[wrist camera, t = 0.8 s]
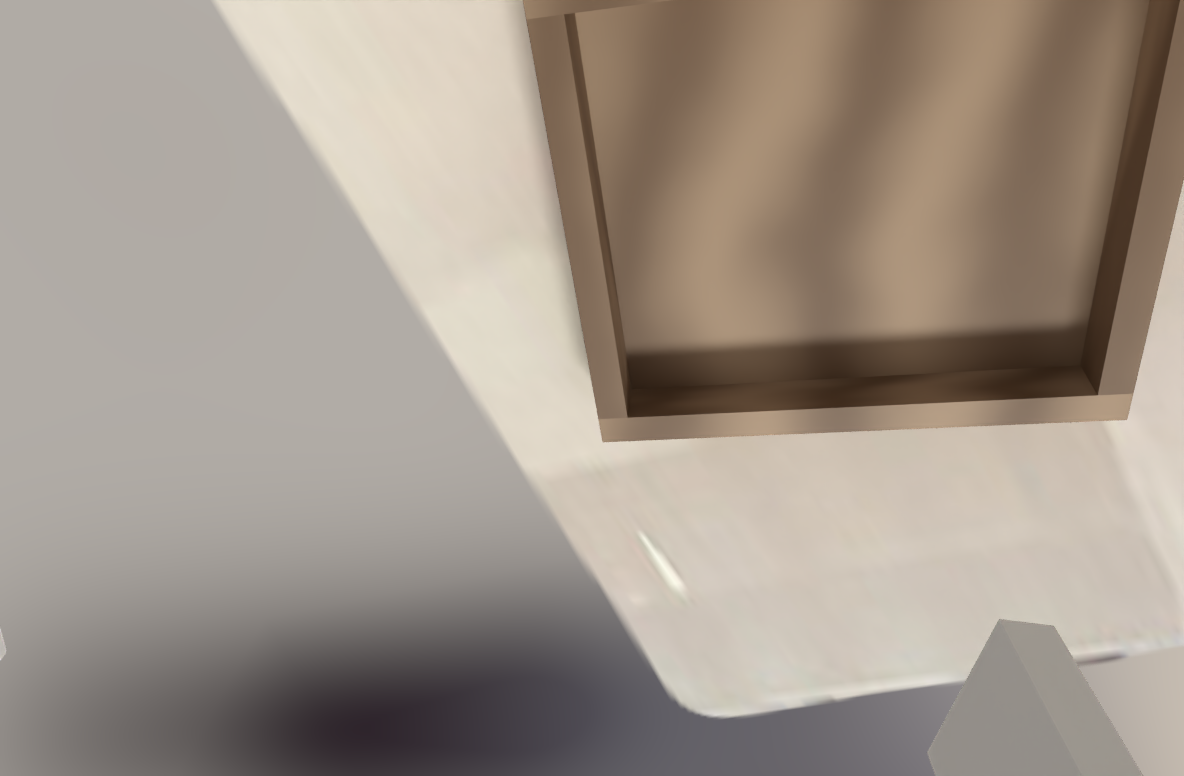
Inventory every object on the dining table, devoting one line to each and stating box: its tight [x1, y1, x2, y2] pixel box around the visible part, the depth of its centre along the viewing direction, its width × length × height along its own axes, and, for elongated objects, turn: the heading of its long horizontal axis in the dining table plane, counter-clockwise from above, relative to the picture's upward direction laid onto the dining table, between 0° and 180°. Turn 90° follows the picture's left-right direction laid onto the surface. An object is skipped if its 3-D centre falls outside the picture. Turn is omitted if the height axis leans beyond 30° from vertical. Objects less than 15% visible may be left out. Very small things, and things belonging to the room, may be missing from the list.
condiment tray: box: [523, 0, 1184, 442], centre depth 31 cm, size 20×18×3 cm
